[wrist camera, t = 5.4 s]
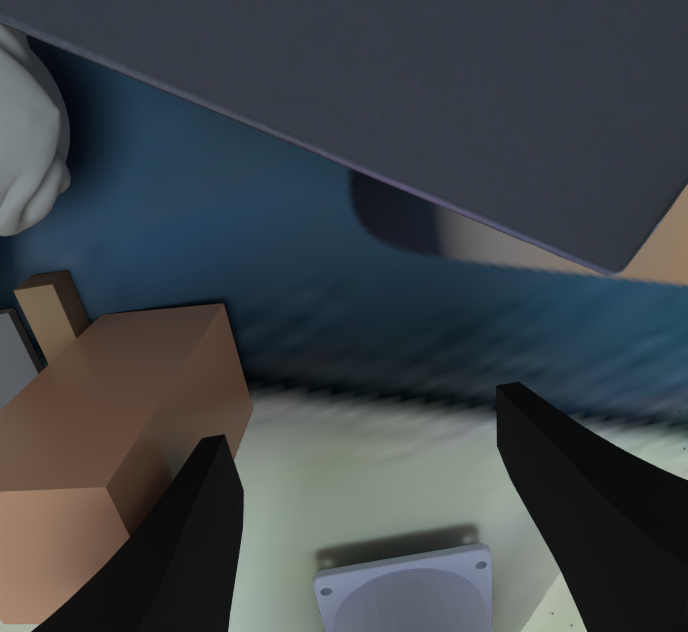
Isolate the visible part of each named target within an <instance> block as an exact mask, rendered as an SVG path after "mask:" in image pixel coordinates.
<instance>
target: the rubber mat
mask: <svg viewBox="0 0 688 632" xmlns="http://www.w3.org/2000/svg"><path fill="white" fill-rule="evenodd" d="M43 370H44V368H43V366H42V364H41V362H40V360H39V358H38V356H37V354H36V352H35V350H34V348H33V346H32V344H31V342H30V340H29V337H28V335H27V333H26V331H25V329H24V327H23V325H22V323H21V321H20V319H19V317H18V315H17V313H16V311H15V309H14V308H10V309H4V310H0V410H1V409H2V408H3V407H4V406H5V405H6V404H8V403H9V402H10V401H11V400H12V399H13V398H14V397H15V396H16V395H17V394H18V393H19V392H20V391H21V390H22V389H23V388H25V387H26V386H27V385H28V384H29V383H30V382H31V381H32V380H33V379H34V378H35V377H36V376H37V375H38V374H39V373H40V372H41V371H43Z"/></svg>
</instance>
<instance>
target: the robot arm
mask: <svg viewBox="0 0 688 632" xmlns="http://www.w3.org/2000/svg"><path fill="white" fill-rule="evenodd" d="M496 415H497V447H498V449H499V452H500V454H501V457H502V460H503V462H504V465H505V467H506V469H507V472H508V474H509V477H510V479H511V481H512V483H513V485H514V487H515V488H516V490H517V492H518V494H519V496H520V497H521V499H522V501H523V503H524V505H525V507H526V508H527V510H528V512H529V514H530V515H531V517H532V519H533V521H534V522H535V524H536V526H537V528H538V530H539V531H540V533H541V535H542V537H543V538H544V540H545V542H546V544H547V546H548V547H549V549H550V551H551V553H552V554H553V556H554V558H555V560H556V562H557V564H558V566H559V568H560V570H561V572H562V574H563V577H564V579H565V581H566V583H567V586H568V588H569V590H570V593H571V595H572V597H573V599H574V602H575V604H576V606H577V608H578V611H579V613H580V616H581V618H582V620H583V623H584V625H585V627H586V630H587V632H688V480H686V479H683V478H681V477H678V476H676V475H674V474H671V473H669V472H667V471H665V470H663V469H660V468H658V467H656V466H654V465H652V464H650V463H648V462H646V461H644V460H642V459H640V458H638V457H636V456H634V455H632V454H630V453H628V452H626V451H624V450H623V449H621V448H619V447H617V446H615V445H614V444H612V443H610V442H609V441H607V440H605V439H603V438H602V437H600V436H598V435H597V434H595V433H593V432H592V431H590V430H589V429H587V428H585V427H584V426H582V425H581V424H579V423H577V422H576V421H574V420H573V419H571V418H570V417H568V416H567V415H565V414H564V413H562V412H561V411H560V410H558V409H557V408H555V407H554V406H552V405H551V404H550V403H548V402H547V401H545V400H544V399H542V398H541V397H540V396H538V395H537V394H535V393H534V392H533V391H531V390H530V389H528V388H527V387H526V386H524V385H523V384H521V383H520V382H515V383H510V384H504V385H498V386H496ZM243 507H244V490H243V487H242V484H241V481H240V478H239V475H238V472H237V469H236V466H235V463H234V460H233V457H232V454H231V451H230V448H229V445H228V442H227V439H226V436H225V434H222V435H216V436H210V437H205V438H202V439H201V440H200V441H199V443H198V444H197V446H196V447H195V448H194V450H193V451H192V453H191V454H190V456H189V457H188V459H187V460H186V462H185V463H184V465H183V466H182V468H181V469H180V471H179V472H178V474H177V475H176V477H175V478H174V480H173V481H172V482H171V484H170V485H169V487H168V488H167V489H166V491H165V492H164V494H163V495H162V496H161V498H160V499H159V501H158V502H157V503H156V505H155V506H154V507H153V509H152V510H151V511H150V512H149V514H148V515H147V516H146V518H145V519H144V520H143V521H142V523H141V524H140V525H139V527H138V528H137V529H136V530H135V532H134V533H133V534H132V535H131V536H130V538H129V539H128V540H127V541H126V542H125V543H124V544H123V546H122V547H121V548H120V549H119V550H118V551H117V552H116V553H115V554H114V555H113V556H112V557H111V559H110V560H109V561H108V562H107V563H106V564H105V565H104V566H103V567H102V568H101V569H100V570H99V571H98V572H97V573H96V574H95V575H94V576H93V577H92V578H91V579H90V580H89V581H88V582H87V583H85V584H84V585H83V586H82V587H81V588H80V589H79V590H78V591H77V592H76V593H75V594H74V595H73V596H72V597H71V598H70V599H69V600H68V601H67V602H65V603H64V604H63V605H62V606H61V607H60V608H59V609H58V610H56V611H55V612H54V613H53V614H52V615H51V616H49V617H48V618H47V619H46V620H45V621H44V622H42V623H41V624H40V625H39V626H38V627H36V628H35V629H34V630H33V631H31V632H228V628H229V619H230V610H231V604H232V597H233V591H234V584H235V578H236V571H237V565H238V558H239V551H240V544H241V538H242V530H243ZM313 586H314V590H315V594H316V598H317V602H318V606H319V610H320V614H321V617H322V621H323V625H324V629H325V632H494V629H493V627H492V555H491V552H490V549H489V547H488V546H487V545H486V544H482V543H478V544H472V545H466V546H460V547H454V548H448V549H442V550H437V551H431V552H425V553H419V554H413V555H407V556H401V557H396V558H390V559H384V560H378V561H372V562H366V563H360V564H355V565H349V566H343V567H337V568H331V569H325V570H321V571H318V572H317V573H315V575H314V576H313Z"/></svg>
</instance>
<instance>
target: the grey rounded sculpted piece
mask: <svg viewBox="0 0 688 632" xmlns="http://www.w3.org/2000/svg"><path fill="white" fill-rule="evenodd" d="M69 144H70V127H69V118H68V114H67V110H66V106H65V103H64V101H63V98H62V95H61V92H60V90H59V88H58V86H57V84H56V82H55V81H54V79H53V77H52V76H51V74H50V73H49V71H48V69H47V68H46V67H45V65H44V64H43V63H42V62H41V60H40V59H39V58H38V57H37V56H36V54H35V53H34V52H33V51H32V50H31V49H30V47H29V44H28V40H27V37H26V34H23V33H21V32H19V31H16V30H14V29H11V28H9V27H7V26H4V25H2V24H0V236H10V235H15V234H18V233H20V232H21V231H23V230H25V229H27V228H29V227H31V226H32V225H34V224H36V223H37V222H39V221H41V220H42V219H44V217H45V216H46V215H47V214H48V213H49V212H50V211H51V209H52V207H53V205H54V203H55V201H56V199H57V197H58V195H59V194H61V193H63V192H65V191H66V190H67V188H68V187H69V185H70V174H69V170H68V168H67V165H66V163H65V162H66V158H67V155H68V149H69Z"/></svg>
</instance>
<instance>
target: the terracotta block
mask: <svg viewBox="0 0 688 632" xmlns="http://www.w3.org/2000/svg"><path fill="white" fill-rule="evenodd" d="M252 411H253V406H252V403H251V399H250V396H249V392H248V388H247V385H246V381H245V378H244V374H243V370H242V367H241V363H240V360H239V356H238V353H237V349H236V345H235V342H234V338H233V335H232V331H231V327H230V324H229V320H228V317H227V313H226V309H225V306H224V303H222V304H211V305H200V306H190V307H179V308H168V309H158V310H147V311H137V312H126V313H115V314H105V315H101V316H100V317H99V318H98V319H97V320H96V321H95V322H93V323H92V324H91V325H90V326H89V327H88V328H87V329H86V330H85V331H84V332H83V333H82V334H81V335H80V336H79V337H78V338H77V339H75V340H74V341H73V342H72V343H71V344H70V345H69V346H68V347H67V348H66V349H65V350H64V351H63V352H62V353H61V354H60V355H58V356H57V357H56V358H55V359H54V360H53V361H52V362H51V363H50V364H49V365H48V366H47V367H46V368H45V369H44V370H43V371H41V372H40V373H39V374H38V375H37V376H36V377H35V378H34V379H33V380H32V381H31V382H30V383H29V384H28V385H27V386H26V387H25V388H23V389H22V390H21V391H20V392H19V393H18V394H17V395H16V396H15V397H14V398H13V399H12V400H11V401H10V402H9V403H8V404H6V405H5V406H4V407H3V408H2V409H1V410H0V619H1V621H2V622H3V623H4V624H41V623H42V622H44V621H45V620H46V619H47V618H48V617H49V616H51V615H52V614H53V613H54V612H55V611H56V610H58V609H59V608H60V607H61V606H62V605H63V604H64V603H65V602H67V601H68V600H69V599H70V598H71V597H72V596H73V595H74V594H75V593H76V592H77V591H78V590H79V589H80V588H81V587H82V586H83V585H84V584H85V583H87V582H88V581H89V580H90V579H91V578H92V577H93V576H94V575H95V574H96V573H97V572H98V571H99V570H100V569H101V568H102V567H103V566H104V565H105V564H106V563H107V562H108V561H109V560H110V559H111V557H112V556H113V555H114V554H115V553H116V552H117V551H118V550H119V549H120V548H121V547H122V546H123V544H124V543H125V542H126V541H127V540H128V539H129V538H130V536H131V535H132V534H133V533H134V532H135V530H136V529H137V528H138V527H139V525H140V524H141V523H142V521H143V520H144V519H145V518H146V516H147V515H148V514H149V512H150V511H151V510H152V509H153V507H154V506H155V505H156V503H157V502H158V501H159V499H160V498H161V496H162V495H163V494H164V492H165V491H166V489H167V488H168V487H169V485H170V484H171V482H172V481H173V480H174V478H175V477H176V475H177V474H178V472H179V471H180V469H181V468H182V466H183V465H184V463H185V462H186V460H187V459H188V457H189V456H190V454H191V453H192V451H193V450H194V448H195V447H196V446H197V444H198V443H199V441H200V440H201V439H202V438H205V437H210V436H216V435H222V434H225V436H226V439H227V442H228V445H229V448H230V451H231V454H232V457H233V460H234V458H235V456H236V453H237V450H238V448H239V445H240V442H241V440H242V437H243V434H244V432H245V429H246V426H247V424H248V421H249V419H250V416H251V413H252Z"/></svg>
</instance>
